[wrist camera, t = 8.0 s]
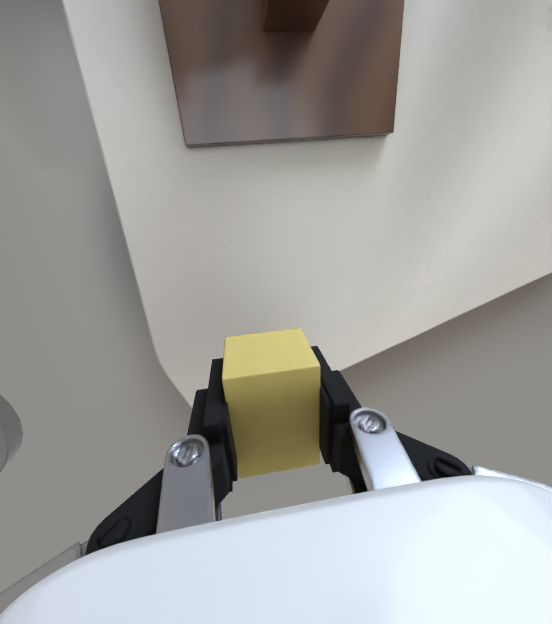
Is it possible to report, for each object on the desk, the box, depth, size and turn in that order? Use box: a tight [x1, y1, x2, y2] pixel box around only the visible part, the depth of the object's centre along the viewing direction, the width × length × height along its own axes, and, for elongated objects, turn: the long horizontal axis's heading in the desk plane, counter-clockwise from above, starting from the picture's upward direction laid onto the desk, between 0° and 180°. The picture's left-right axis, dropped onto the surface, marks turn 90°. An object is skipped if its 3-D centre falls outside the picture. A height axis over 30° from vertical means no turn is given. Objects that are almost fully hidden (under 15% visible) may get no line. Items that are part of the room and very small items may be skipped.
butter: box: [222, 328, 320, 478], centre depth 11 cm, size 5×3×3 cm
